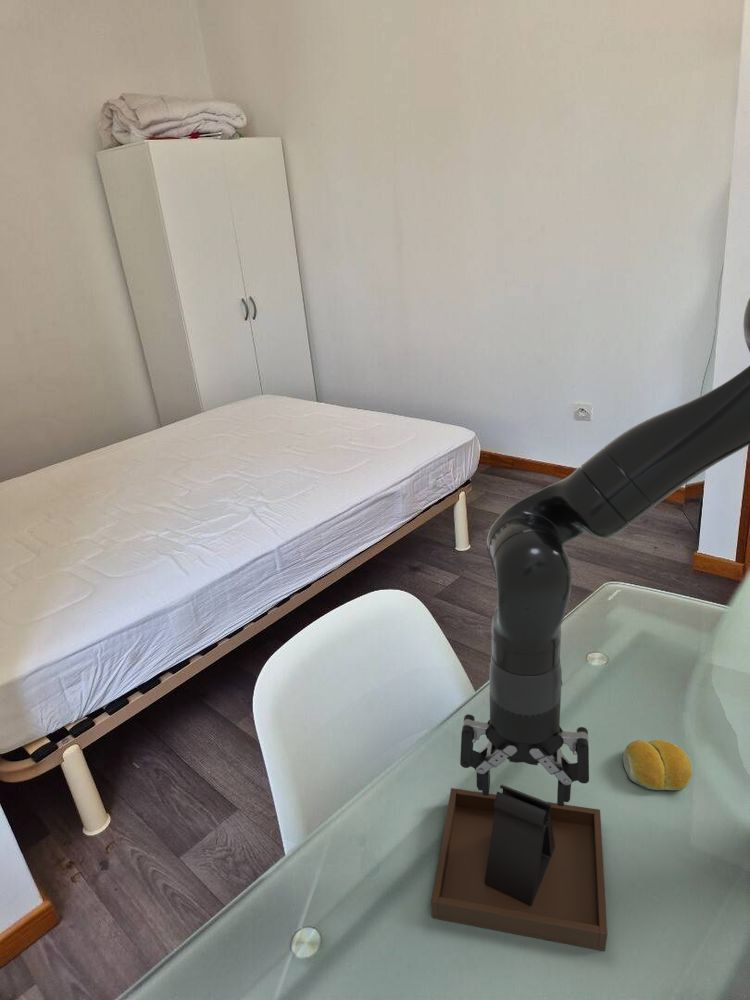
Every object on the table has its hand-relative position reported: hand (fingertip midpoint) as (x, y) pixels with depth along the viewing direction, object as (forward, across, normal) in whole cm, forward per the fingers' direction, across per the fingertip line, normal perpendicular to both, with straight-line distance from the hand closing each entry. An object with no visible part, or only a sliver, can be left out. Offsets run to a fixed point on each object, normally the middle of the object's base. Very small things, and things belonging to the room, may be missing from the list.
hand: (523, 794), depth 81 cm
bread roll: (+14, +18, +19) cm, 29 cm away
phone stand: (+13, 0, 0) cm, 13 cm away
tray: (+13, 0, 0) cm, 13 cm away
